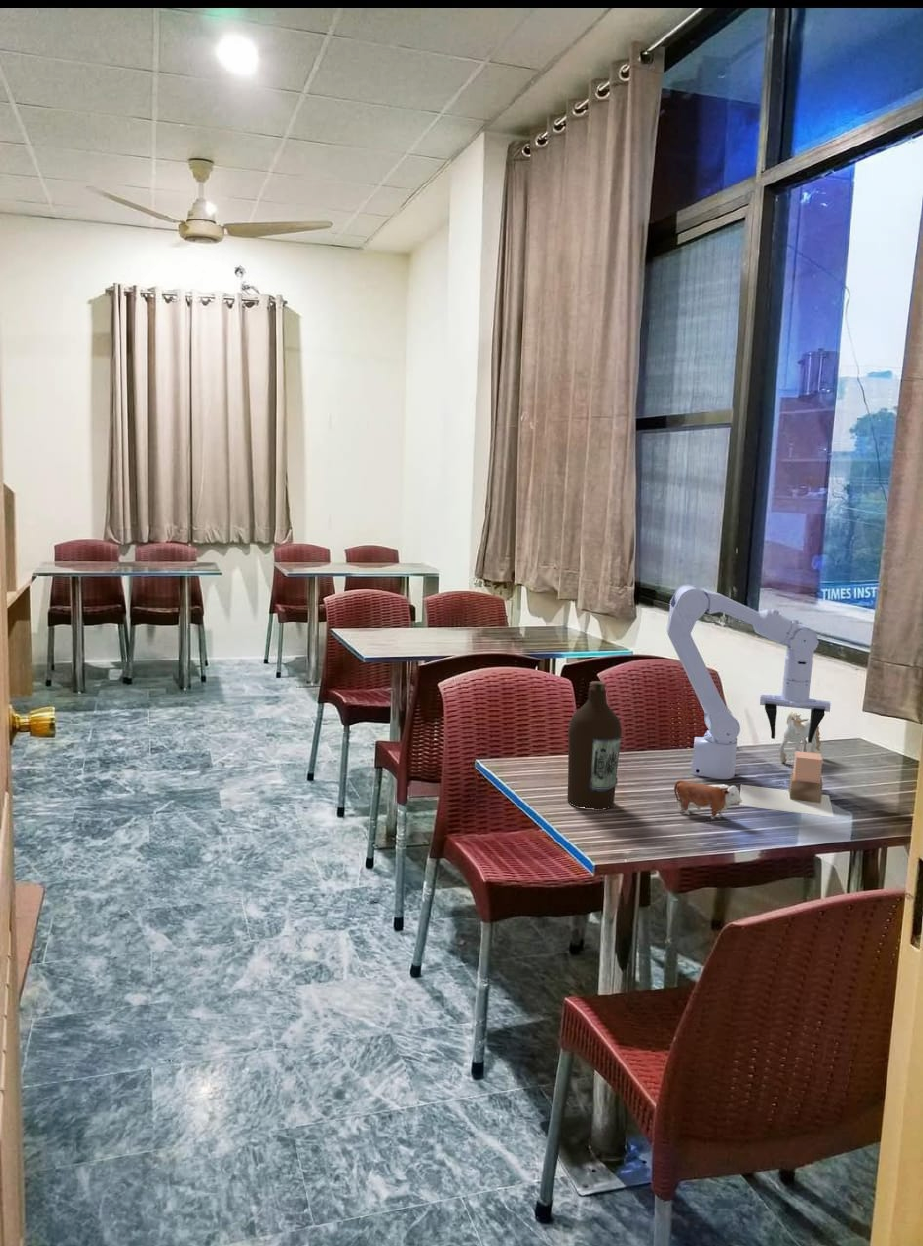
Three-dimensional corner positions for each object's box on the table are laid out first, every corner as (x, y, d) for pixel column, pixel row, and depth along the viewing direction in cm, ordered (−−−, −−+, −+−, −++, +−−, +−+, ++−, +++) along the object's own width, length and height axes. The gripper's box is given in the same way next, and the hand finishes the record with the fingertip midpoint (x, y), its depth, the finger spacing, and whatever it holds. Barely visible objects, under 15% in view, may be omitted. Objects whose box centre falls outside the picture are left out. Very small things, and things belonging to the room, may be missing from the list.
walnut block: (790, 799, 199) (791, 780, 198) (789, 790, 205) (790, 772, 204) (820, 803, 197) (822, 784, 197) (818, 794, 203) (820, 776, 202)
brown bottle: (553, 798, 197) (560, 679, 193) (594, 791, 202) (601, 675, 198) (586, 815, 188) (594, 690, 184) (627, 807, 193) (636, 686, 189)
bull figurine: (737, 831, 182) (741, 790, 181) (669, 816, 189) (672, 776, 188) (744, 825, 186) (747, 784, 185) (677, 810, 193) (680, 771, 192)
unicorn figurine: (771, 770, 222) (776, 714, 220) (790, 751, 239) (795, 699, 237) (803, 776, 218) (808, 719, 216) (820, 756, 235) (825, 703, 233)
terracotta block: (794, 780, 198) (796, 757, 198) (793, 773, 203) (795, 750, 202) (820, 783, 197) (822, 760, 196) (818, 776, 202) (820, 753, 201)
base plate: (739, 809, 194) (739, 804, 194) (740, 788, 208) (740, 784, 207) (833, 822, 189) (834, 817, 189) (828, 800, 202) (828, 795, 202)
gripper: (762, 679, 208) (757, 740, 210) (833, 686, 204) (827, 748, 206) (762, 673, 215) (757, 732, 217) (831, 679, 211) (825, 739, 213)
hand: (791, 739), depth 212 cm, fingers open, 7 cm apart
